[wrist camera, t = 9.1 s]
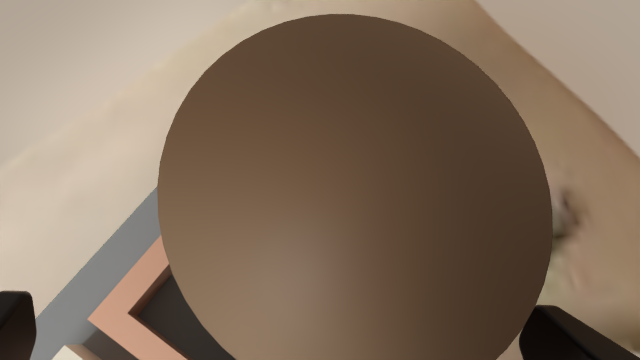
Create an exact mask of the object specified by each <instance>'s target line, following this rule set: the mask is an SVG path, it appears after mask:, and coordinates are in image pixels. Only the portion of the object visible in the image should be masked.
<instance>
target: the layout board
mask: <svg viewBox="0 0 640 360" xmlns="http://www.w3.org/2000/svg"><path fill="white" fill-rule="evenodd" d="M35 321H36V328H37V336H36V342H35V345H34V348H33V352H32V355H31V358H30V360H237V359H235V358H234V357H233V356H232V355H231V354H229V353H228V352H227V351H226V350H225V349H223V348H222V347H221V345H220V344H219V343H218V342H217V341H216V340H215V339H214V338H213V336H212V335H211V334H210V333H209V332H208V331H207V330H206V329H205V328H204V326H203V325H202V324H201V323H200V321H199V320H198V318H197V317H196V315H195V314H194V312H193V311H192V309H191V308H190V306H189V305H188V303H187V302H186V300H185V298H184V296H183V294H182V292H181V290H180V288H179V286H178V284H177V282H176V280H175V278H174V276H173V274H172V271H171V268H170V265H169V262H168V259H167V256H166V253H165V249H164V246H163V242H162V236H161V230H160V225H159V219H158V198H157V187H156V188H155V189H154V191H153V192H152V193H151V194H150V195H149V196H148V197H147V198H146V199H145V200H144V201H143V203H142V204H141V205H140V206H139V207H138V208H137V209H136V210H135V211H134V212H133V213H132V215H131V216H130V217H129V218H128V219H127V220H126V221H125V222H124V223H123V224H122V225H121V227H120V228H119V229H118V230H117V231H116V232H115V233H114V234H113V235H112V236H111V237H110V239H109V240H108V241H107V242H106V243H105V244H104V245H103V246H102V247H101V248H100V249H99V251H98V252H97V253H96V254H95V255H94V256H93V257H92V258H91V259H90V260H89V261H88V263H87V264H86V265H85V266H84V267H83V268H82V269H81V270H80V271H79V272H78V273H77V275H76V276H75V277H74V278H73V279H72V280H71V281H70V282H69V283H68V284H67V285H66V287H65V288H64V289H63V290H62V291H61V292H60V293H59V294H58V295H57V296H56V297H55V298H54V300H53V301H52V302H51V303H50V304H49V305H48V306H47V307H46V308H45V309H44V310H43V312H42V313H41V314H40V315H39V316H38V317H37V318H36V319H35Z"/></svg>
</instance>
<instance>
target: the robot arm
mask: <svg viewBox="0 0 640 360" xmlns="http://www.w3.org/2000/svg"><path fill="white" fill-rule="evenodd" d="M36 336H37V328H36V321H35V314H34V307H33V300H32V296H31V294H30V293H29V292H27V291H1V292H0V360H30V358H31V355H32V352H33V348H34V345H35V342H36ZM519 347H520V351H521V354H522V357H523V359H524V360H640V358H639V357H637V356H636V355H634V354H633V353H631V352H629V351H628V350H626V349H624V348H623V347H621V346H620V345H618V344H616V343H615V342H613V341H612V340H610V339H608V338H607V337H605V336H604V335H602V334H600V333H599V332H597V331H596V330H594V329H592V328H591V327H589V326H588V325H586V324H584V323H583V322H581V321H580V320H578V319H576V318H575V317H573V316H572V315H570V314H568V313H567V312H565V311H564V310H562V309H560V308H559V307H557V306H553V305H536V306H535V308H534V309H533V311H532V313H531V315H530V316H529V318H528V320H527V322H526V323H525V325H524V327H523V329H522V331H521V334H520V337H519Z"/></svg>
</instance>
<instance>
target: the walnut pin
mask: <svg viewBox="0 0 640 360" xmlns="http://www.w3.org/2000/svg"><path fill="white" fill-rule="evenodd" d="M157 198H158V219H159V225H160V230H161V236H162V242H163V246H164V249H165V253H166V256H167V259H168V262H169V265H170V268H171V271H172V274H173V276H174V278H175V280H176V282H177V284H178V286H179V288H180V290H181V292H182V294H183V296H184V298H185V300H186V302H187V303H188V305H189V306H190V308H191V309H192V311H193V312H194V314H195V315H196V317H197V318H198V320H199V321H200V323H201V324H202V325H203V326H204V328H205V329H206V330H207V331H208V332H209V333H210V334H211V335H212V336H213V338H214V339H215V340H216V341H217V342H218V343H219V344H220V345H221V347H222V348H223V349H225V350H226V351H227V352H228V353H229V354H231V355H232V356H233V357H234V358H235V359H237V360H496V359H497V358H498V357H499V356H500V355H501V354H502V353H503V352H504V351H505V350H506V349H507V348H508V347H509V345H510V344H511V343H512V342H513V340H514V339H515V338H516V336H517V335H518V334H519V333H520V331H521V330H522V329H523V327H524V325H525V323H526V322H527V320H528V318H529V316H530V315H531V313H532V311H533V309H534V308H535V305H536V303H537V300H538V298H539V295H540V293H541V290H542V288H543V285H544V282H545V278H546V274H547V270H548V266H549V261H550V254H551V245H552V237H553V229H552V206H551V198H550V191H549V186H548V182H547V178H546V174H545V170H544V166H543V163H542V160H541V158H540V155H539V153H538V150H537V147H536V145H535V142H534V140H533V138H532V136H531V134H530V132H529V131H528V129H527V127H526V125H525V123H524V121H523V119H522V118H521V116H520V115H519V113H518V112H517V110H516V109H515V107H514V106H513V104H512V103H511V101H510V100H509V99H508V98H507V97H506V95H505V94H504V93H503V92H502V91H501V89H500V88H499V87H498V86H497V85H496V83H495V82H494V81H493V80H492V79H490V78H489V77H488V76H487V75H486V74H485V73H484V72H483V71H482V70H481V69H480V68H479V67H478V66H477V65H475V64H474V63H473V62H472V61H470V60H469V59H468V58H466V57H465V56H464V55H463V54H461V53H460V52H458V51H457V50H455V49H454V48H452V47H450V46H449V45H447V44H446V43H444V42H442V41H441V40H439V39H437V38H435V37H433V36H431V35H429V34H426V33H424V32H422V31H420V30H418V29H415V28H412V27H409V26H406V25H404V24H401V23H398V22H394V21H390V20H386V19H381V18H377V17H370V16H362V15H354V14H327V15H318V16H309V17H304V18H300V19H296V20H291V21H287V22H283V23H281V24H278V25H275V26H273V27H270V28H267V29H265V30H262V31H260V32H259V33H257V34H255V35H253V36H251V37H249V38H247V39H245V40H243V41H242V42H240V43H239V44H237V45H236V46H235V47H233V48H232V49H230V50H229V51H228V52H226V53H225V54H223V55H222V56H221V57H220V58H219V59H218V60H217V61H216V62H215V63H214V64H213V65H212V66H210V67H209V68H208V69H207V70H206V71H205V72H204V74H203V75H202V76H201V77H200V78H199V80H198V81H197V82H196V83H195V85H194V86H193V87H192V88H191V90H190V91H189V93H188V94H187V96H186V98H185V99H184V101H183V103H182V104H181V106H180V108H179V109H178V111H177V113H176V115H175V118H174V120H173V123H172V125H171V127H170V130H169V132H168V135H167V137H166V141H165V145H164V149H163V153H162V157H161V161H160V168H159V177H158V186H157Z"/></svg>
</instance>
